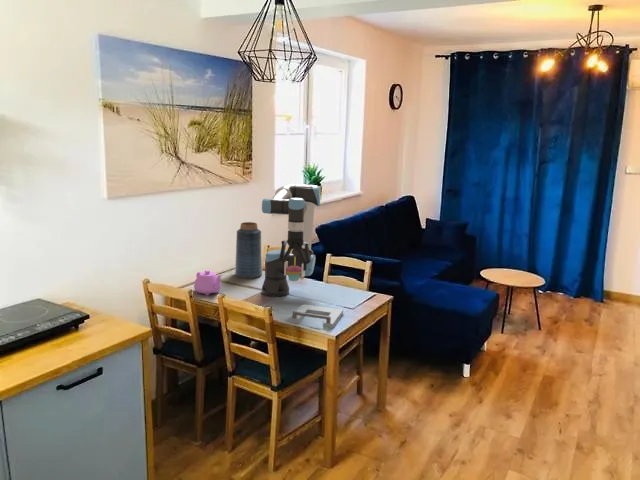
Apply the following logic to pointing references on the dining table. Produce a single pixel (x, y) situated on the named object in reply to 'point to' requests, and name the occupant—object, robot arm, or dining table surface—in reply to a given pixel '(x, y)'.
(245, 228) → the blue thread spool
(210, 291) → the teapot
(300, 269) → the cupcake
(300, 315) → the grey handled tray
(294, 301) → the dining table surface
